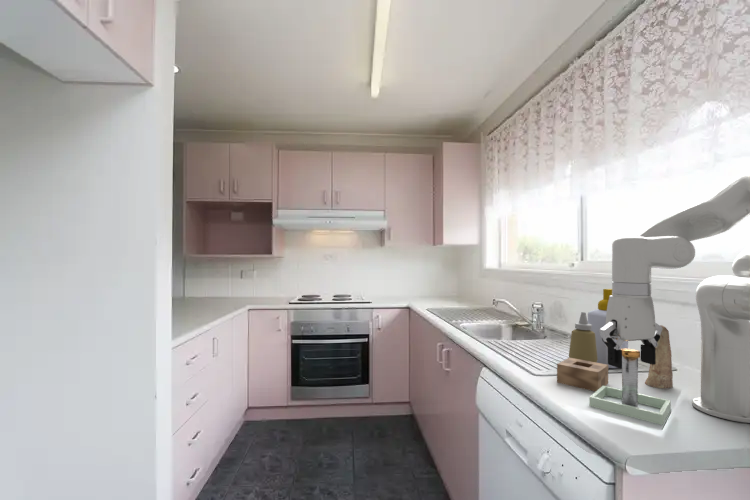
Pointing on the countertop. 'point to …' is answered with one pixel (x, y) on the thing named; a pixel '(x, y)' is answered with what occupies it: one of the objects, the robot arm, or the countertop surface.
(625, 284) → the robot arm
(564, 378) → the socket block
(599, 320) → the soap bottle
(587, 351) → the squeeze bottle
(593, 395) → the tray
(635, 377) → the pin
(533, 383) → the countertop surface
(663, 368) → the tapered stone wedge
